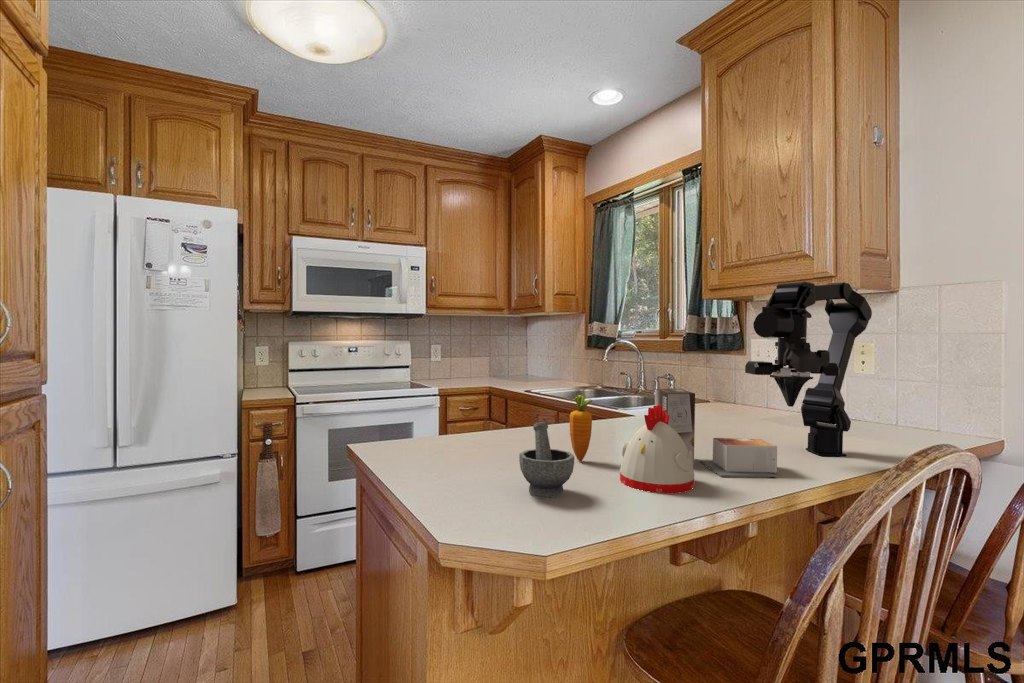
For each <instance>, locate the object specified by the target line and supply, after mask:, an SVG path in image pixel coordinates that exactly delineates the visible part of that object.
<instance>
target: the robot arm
mask: <svg viewBox="0 0 1024 683" xmlns="http://www.w3.org/2000/svg"><path fill="white" fill-rule="evenodd" d="M833 300H844V301H845V302H836V303H834V301H833ZM818 301H819V302H820V301H826V303H825V305H824V306H825V307H824V311H825V313H826V314H827V316H828V324H829V326H830V328H831V330H832V334H831V338H830V341H829V344H828V348H827V350H826V349H818V350H816V351H813V350H811V344H810V342H807V339H808V336H807V335H808V334H807V330H808V326H807V325H808V324H807V323H808V319H810V318H812V314H811V313H810V312H809V311H808V310H807V308H809V307H811V306H813V305H816V302H818ZM872 315H873V312H872V308H871V306H870V305H869V302H868V301H867V299H866V297H864V296H863V295H862V294H860V293H859V292H857V291H855V290H854V289H853V288H852V286H851V284H850V283H846V282H831V283H830V282H829V283H827V284H817V285H816V284H815V283H814V282H810V281H798V282H797V281H796V282H795V281H794V282H784V283H783V282H781V283H778V284H777V285H776V288H775V289H774V290H773V292H772V294H771V296H770V297H769V300H768V302H767V304H766V306H762V312H760V313H758V314H757V315H756V317H755V319H754V320H753V323H752V324H753V330H754V332H755V333H756V335H757V336H759V337H760V338H767V339H768V338H769V339H770V338H771V339H773V338H774V339H777V341H774V347H777V359H774V364H773V362H770V361H762V360H760V361H759V360H751V361H750V360H749V361H747V362H746V364H745V365H744V366H745V368H744V369H745V370H744V371H745V372H744V373H745V374H749V375H754V376H755V375H757V376H769V377H770V378H773V379H774V380H775V382H776V384H777V386H778V388H779V390H780V392H781V394H782V396H783V398H784V401H785V403H786V406H787V407H794V406H795V404H796V401H797V399H798V397H799V395H800V392H801V390H802V388H803V387H804V386H805V384H806V383H807V382H808V381H810V380H813V379H814V377H813V376H811V374H812V375H813V374H816V375H818V374H819V379H818V381H817V384H816V385H815V386H814V387H808V388H807V389H806V390H805V395H804V397H803V400H802V404H801V407H800V412H801V416H802V417H801V418H802V422H803V426H804V427H809V432H808V433H807V447H805V450H806V451H808V452H810V453H813V454H815V455H817V456H821V457H822V456H823V457H824V456H825V457H827V456H828V457H829V456H830V457H846V456H847V453H845V452H843V448H844V447H843V446H844V441H843V440H844V437H843V436H844V432H846V433H848V432H849V431H850V428H851V424H852V420H851V419H850V417H849V416H848V413H847V412H846V410H845V404H846V401H845V400H844V398H843V395H842V393H841V390H842V386H843V383H844V379H845V375H846V372H847V368H848V365H849V361H850V357H851V355H852V351H853V348H854V345H855V344H854V343H855V340H856V338H857V337H858V336H860V335H861V334H862V333H863V332H865V330H866V329H867V327H868V325H869V322H870V320H871V319H872ZM787 366H788V367H787Z"/></svg>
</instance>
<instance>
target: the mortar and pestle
mask: <svg viewBox="0 0 1024 683" xmlns="http://www.w3.org/2000/svg"><path fill="white" fill-rule="evenodd" d="M532 428H533V431H534V441H535V442H534V443H535V444H534V445H535V449H526V450H524V451H522V452H519V454H518V455H519V457H518V458H519V468H520V471H521V472H522V475H523V478H524V479H525V480H526V481H527V482H528V484H529V487H528V492H529V493H528V494H530V496H532V497H535V498H537V499H556V498H560V497H562V496H563V495H565V494H564V484H565V483H567V481H568V480H570V478H571V476H572V474H573V472H574V466H575V456H574V455H575V454H572V453H571V452H570V451H565V450H562V449H556V448H554V449H553V448H551V445H550V440H549V439H550V438H549V435H548V434H549V433H548V429H549V425H548V423H547V422H543V421H541V422H537V423H534V424H533V426H532Z"/></svg>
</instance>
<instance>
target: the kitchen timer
mask: <svg viewBox="0 0 1024 683" xmlns="http://www.w3.org/2000/svg"><path fill="white" fill-rule="evenodd" d="M647 409H648V411H647V414H643V416H644V422H645V424H644V425H643V426H641V427H640V428H639V429H638V430H637V431H636V432H635V433H634V434H633V436H632V437H631V439H630V440H629V443H628V442H625V443H624V444H623V446H622V452H621V454H622V455H621V456H622V459H621V464H620V472H619V480H620V483H621V484H623V485H624V486H626V487H628V486H629V487H628V488H631V489H633V488H634V489H635V490H637V489H639V490H638V491H641V490H643V491H642V492H647V491H650V492H649V493H653V492H657V493H656V494H680V493H679V492H681V493H686V492H690V491H692V490H693V489H694V488H695V471H694V466H693V458H692V451H691V450H690V451H688V449H687V447H686V445H685V443H684V442H683V440H682V438H681V437H680V436H679V434H678V433H677V432H676V431H675V430H674V429H673V428H671V427H670V426H669V425H668V422H669V416H670V415H666V410H662V405H657V406H655V405H653V407H648V408H647ZM692 488H693V489H692ZM691 489H692V490H691ZM689 490H690V491H689ZM685 491H686V492H685Z"/></svg>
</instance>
